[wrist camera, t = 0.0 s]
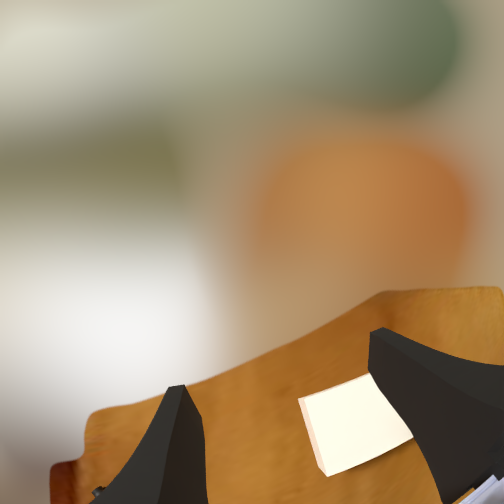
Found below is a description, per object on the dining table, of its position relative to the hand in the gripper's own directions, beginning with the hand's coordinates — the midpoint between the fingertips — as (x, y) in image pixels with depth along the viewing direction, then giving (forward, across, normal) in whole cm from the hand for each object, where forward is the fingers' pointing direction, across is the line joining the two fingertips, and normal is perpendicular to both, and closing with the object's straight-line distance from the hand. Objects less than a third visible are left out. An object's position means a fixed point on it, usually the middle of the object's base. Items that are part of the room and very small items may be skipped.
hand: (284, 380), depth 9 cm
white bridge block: (+15, -13, +29) cm, 36 cm away
